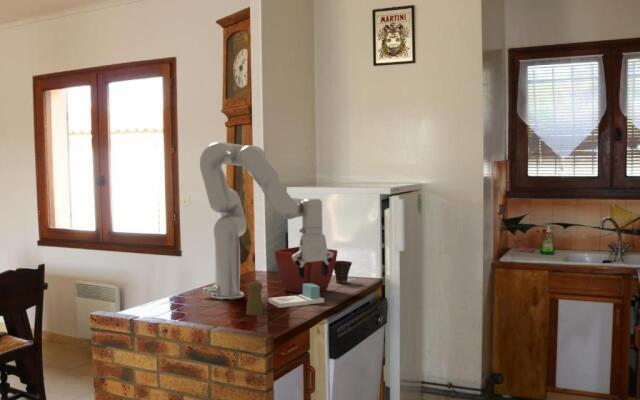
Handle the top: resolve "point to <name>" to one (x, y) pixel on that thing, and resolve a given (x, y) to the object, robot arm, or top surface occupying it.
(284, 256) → the plant pot
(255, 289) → the olive green pepper shaker
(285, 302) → the white flat slab
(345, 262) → the cup
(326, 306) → the top surface
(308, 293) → the stub
